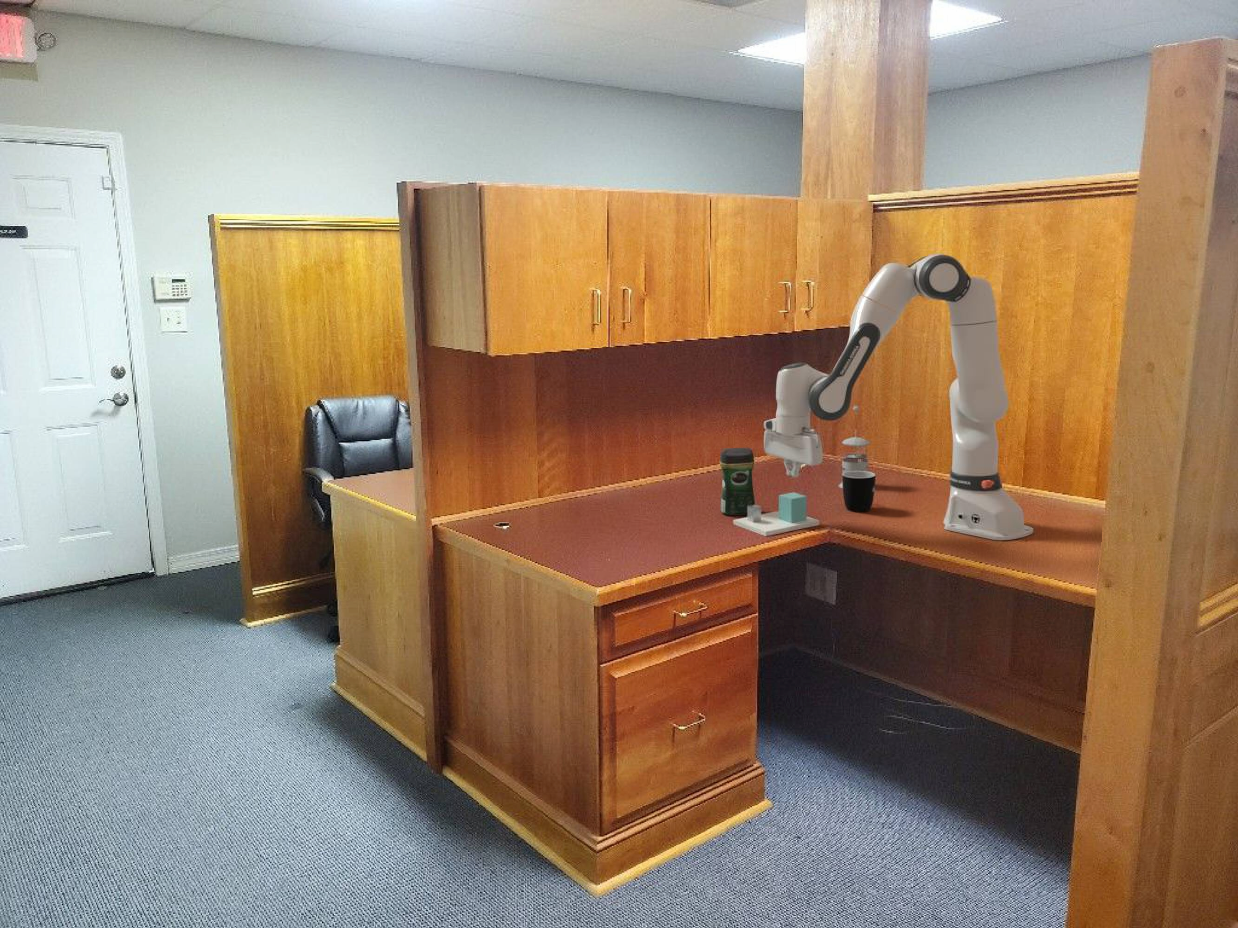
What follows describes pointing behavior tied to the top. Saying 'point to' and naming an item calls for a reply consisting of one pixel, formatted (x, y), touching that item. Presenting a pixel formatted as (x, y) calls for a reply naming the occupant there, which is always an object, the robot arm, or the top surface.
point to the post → (754, 513)
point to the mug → (858, 490)
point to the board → (773, 524)
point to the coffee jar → (736, 480)
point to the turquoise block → (792, 507)
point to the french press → (854, 455)
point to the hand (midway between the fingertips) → (792, 476)
